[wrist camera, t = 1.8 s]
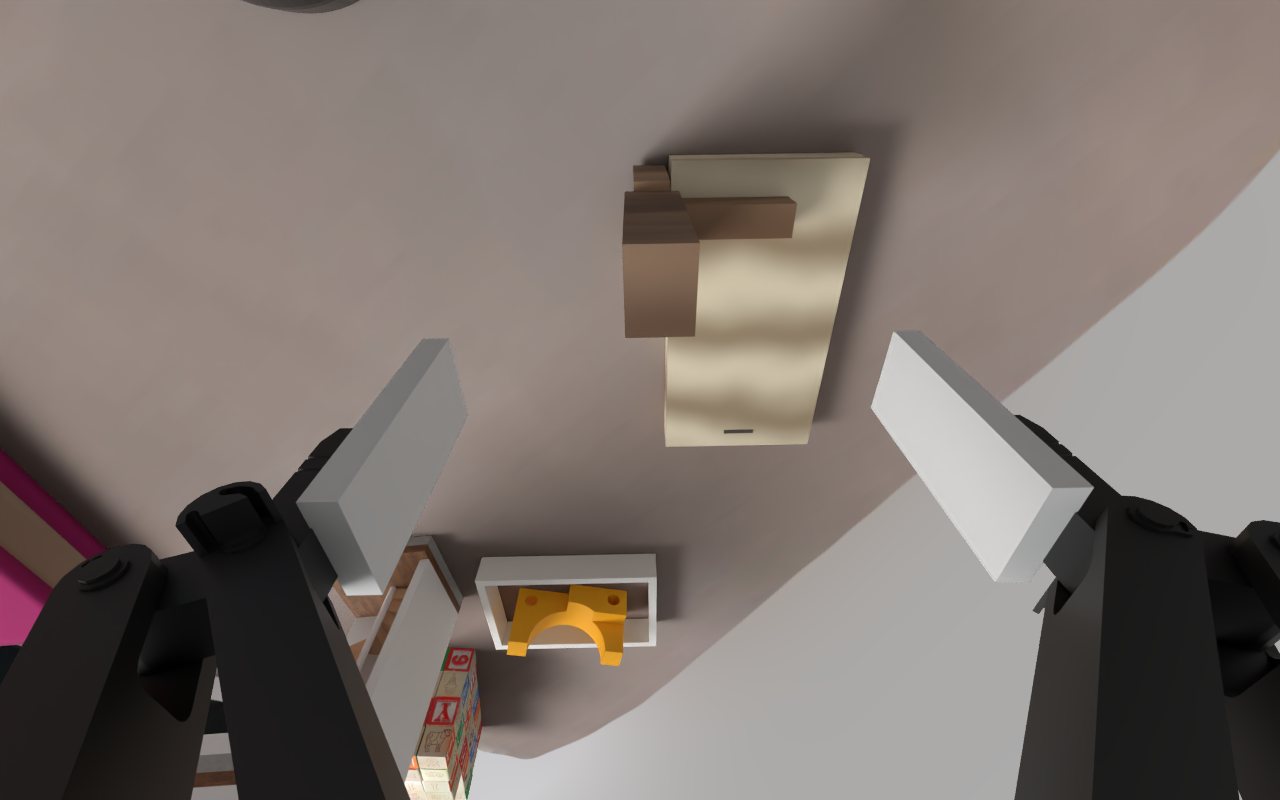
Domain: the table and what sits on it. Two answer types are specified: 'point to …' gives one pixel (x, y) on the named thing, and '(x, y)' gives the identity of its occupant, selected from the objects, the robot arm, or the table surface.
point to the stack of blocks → (448, 733)
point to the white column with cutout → (379, 659)
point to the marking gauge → (682, 247)
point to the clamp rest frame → (566, 572)
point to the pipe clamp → (571, 617)
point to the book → (33, 549)
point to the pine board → (762, 301)
